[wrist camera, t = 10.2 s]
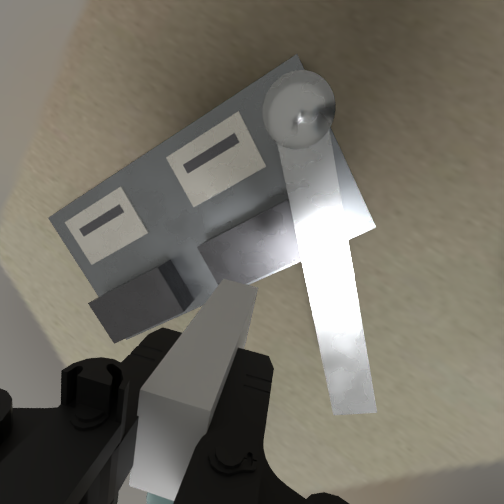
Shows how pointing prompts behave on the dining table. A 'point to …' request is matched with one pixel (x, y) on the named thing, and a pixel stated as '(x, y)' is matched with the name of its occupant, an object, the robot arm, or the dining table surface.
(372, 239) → the dining table surface
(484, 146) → the dining table surface
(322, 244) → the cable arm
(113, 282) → the panel
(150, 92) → the dining table surface
